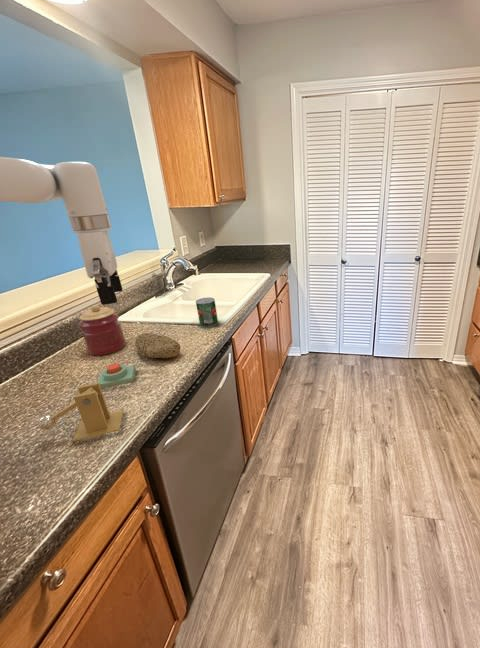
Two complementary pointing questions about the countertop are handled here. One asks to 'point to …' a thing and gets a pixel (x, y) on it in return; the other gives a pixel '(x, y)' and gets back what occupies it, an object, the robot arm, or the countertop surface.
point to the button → (113, 368)
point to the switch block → (117, 376)
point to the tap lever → (57, 415)
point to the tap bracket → (95, 413)
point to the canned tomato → (207, 312)
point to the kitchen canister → (101, 330)
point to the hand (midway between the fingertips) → (112, 297)
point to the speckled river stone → (157, 346)
